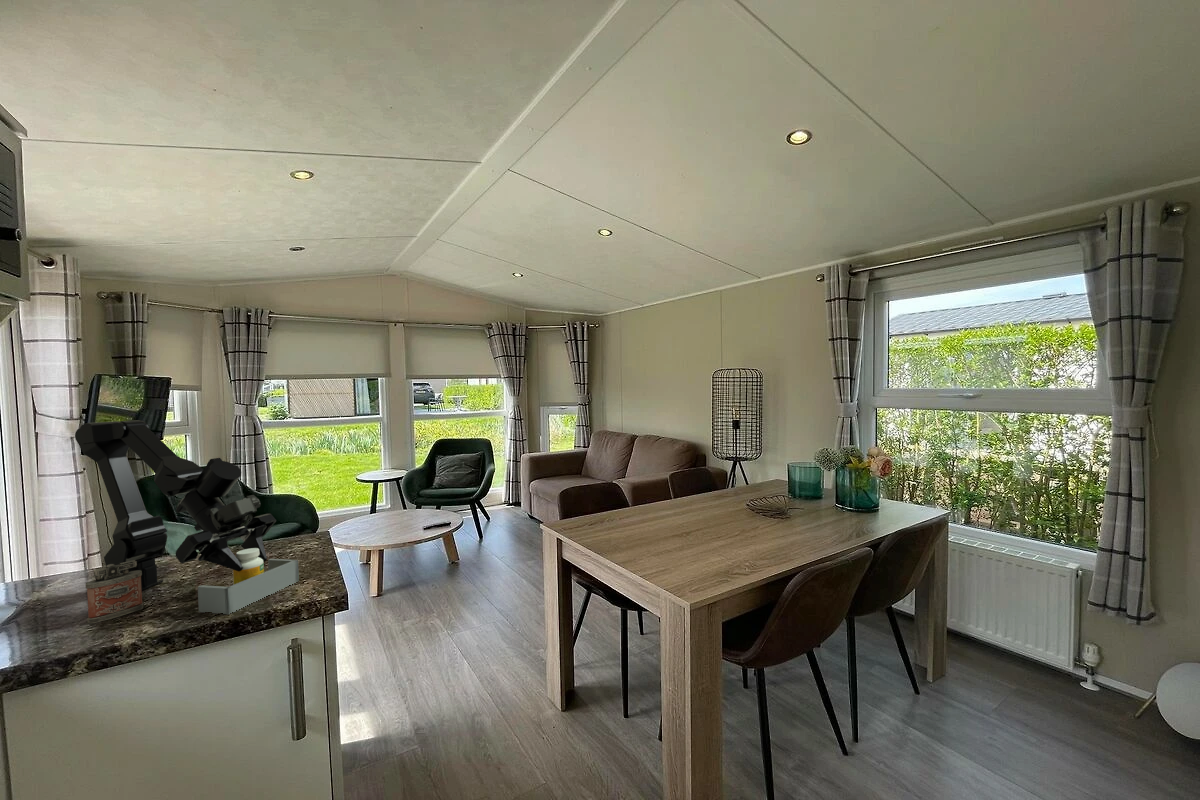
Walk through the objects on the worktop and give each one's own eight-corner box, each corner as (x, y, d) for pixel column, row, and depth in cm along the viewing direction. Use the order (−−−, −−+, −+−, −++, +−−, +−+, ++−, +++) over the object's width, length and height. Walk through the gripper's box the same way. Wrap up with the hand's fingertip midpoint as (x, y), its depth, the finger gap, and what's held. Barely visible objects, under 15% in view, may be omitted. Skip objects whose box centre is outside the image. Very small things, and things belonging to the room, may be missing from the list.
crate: (198, 611, 97) (197, 586, 97) (272, 580, 114) (271, 558, 114) (229, 614, 96) (227, 588, 96) (298, 581, 112) (297, 559, 112)
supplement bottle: (233, 595, 105) (231, 550, 105) (263, 588, 109) (261, 545, 109) (234, 603, 101) (232, 556, 101) (266, 595, 104) (264, 550, 104)
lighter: (90, 624, 93) (87, 572, 93) (85, 621, 95) (82, 569, 95) (146, 608, 100) (143, 559, 100) (140, 605, 102) (137, 556, 102)
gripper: (183, 495, 96) (232, 553, 94) (268, 478, 115) (310, 527, 112) (154, 534, 98) (201, 592, 96) (241, 511, 116) (282, 560, 114)
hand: (253, 565), depth 104 cm, fingers closed on supplement bottle, 5 cm apart
